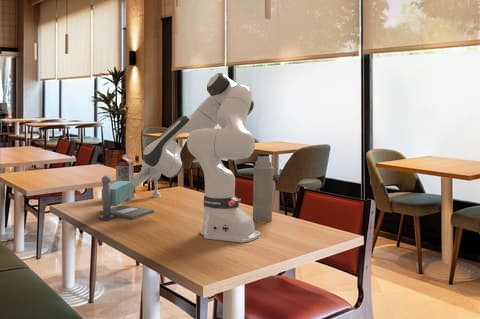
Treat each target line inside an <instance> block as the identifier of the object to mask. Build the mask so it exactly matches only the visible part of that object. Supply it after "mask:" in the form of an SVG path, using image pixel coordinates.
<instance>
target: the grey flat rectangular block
mask: <svg viewBox="0 0 480 319" xmlns="http://www.w3.org/2000/svg"><path fill="white" fill-rule="evenodd" d="M154 211H155V210H154V209H148V208H143V207H137V206H131V205H123V204H122V205H117V206H112V207H111V215H115V216H116V218H122V219H129V220H135V219H137V218H141V217H144V216H148V215H150V214H151V215H152V214H154V213H155V212H154ZM99 215H103V209H102V210H100V211H99Z"/></svg>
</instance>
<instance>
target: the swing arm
mask: <svg viewBox="0 0 480 319" xmlns="http://www.w3.org/2000/svg"><path fill="white" fill-rule="evenodd" d="M111 181H112V179H111V177H110V175H104V176H102V177H101V183H102V184H101V186H102V188H101V206H102V210H103V214H102V215H103V216H104V217H109V216H111V208H112V207H117V206H119V205H120V204H121V203H123V202H124V201H128V200H127V199H128V198H130V197H131V191H129V190H128V188H129V187H130V186H131V184H130V181H117V182H116V181H115V182H114V183H111Z"/></svg>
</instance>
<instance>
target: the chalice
mask: <svg viewBox="0 0 480 319" xmlns="http://www.w3.org/2000/svg"><path fill="white" fill-rule="evenodd" d="M161 175H162V173H160V174H159V175H158V176H157V177H152V179H153V180H155V183H154V185H155V187H154V189H155V191H153V192H152V194H151V198H155V199H157V198H162V195H161V193H160V191H158V188H159V187H158V180H160V178H161Z"/></svg>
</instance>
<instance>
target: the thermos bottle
mask: <svg viewBox="0 0 480 319" xmlns="http://www.w3.org/2000/svg"><path fill="white" fill-rule="evenodd" d="M270 156H271V154H270V153H267V152H259V153H257V160H256V161H255V164H254V165H255V166H253V180H252V181H253V183H252V184H253V188H252V190H253V192H252V200H253V201H252V219H253V222H256V223H270V222H272V220H273V190H274V189H273V188H274V186H273V185H274V183H273V182H274V167H273V166H272V165H273V163H272V161H271V160H270Z"/></svg>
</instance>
